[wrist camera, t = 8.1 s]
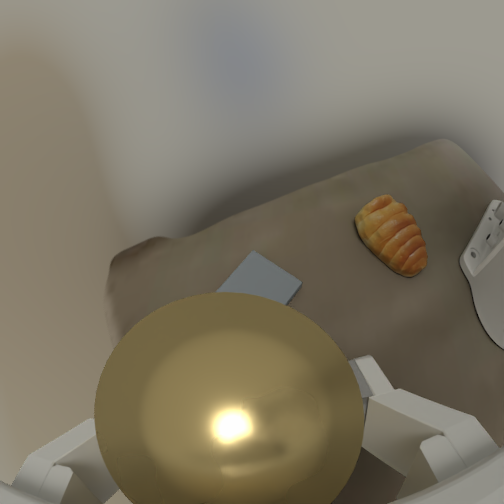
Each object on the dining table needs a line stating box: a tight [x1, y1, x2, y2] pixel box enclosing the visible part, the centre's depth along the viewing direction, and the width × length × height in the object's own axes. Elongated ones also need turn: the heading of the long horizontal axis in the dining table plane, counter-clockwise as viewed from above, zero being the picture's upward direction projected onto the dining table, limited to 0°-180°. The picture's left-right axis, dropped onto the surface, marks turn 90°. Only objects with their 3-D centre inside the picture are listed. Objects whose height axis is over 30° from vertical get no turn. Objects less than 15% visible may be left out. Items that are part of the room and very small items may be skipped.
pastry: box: [355, 194, 428, 277], centre depth 30 cm, size 9×7×4 cm
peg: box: [94, 292, 364, 504], centre depth 8 cm, size 4×4×10 cm
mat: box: [215, 250, 302, 306], centre depth 29 cm, size 6×6×1 cm
